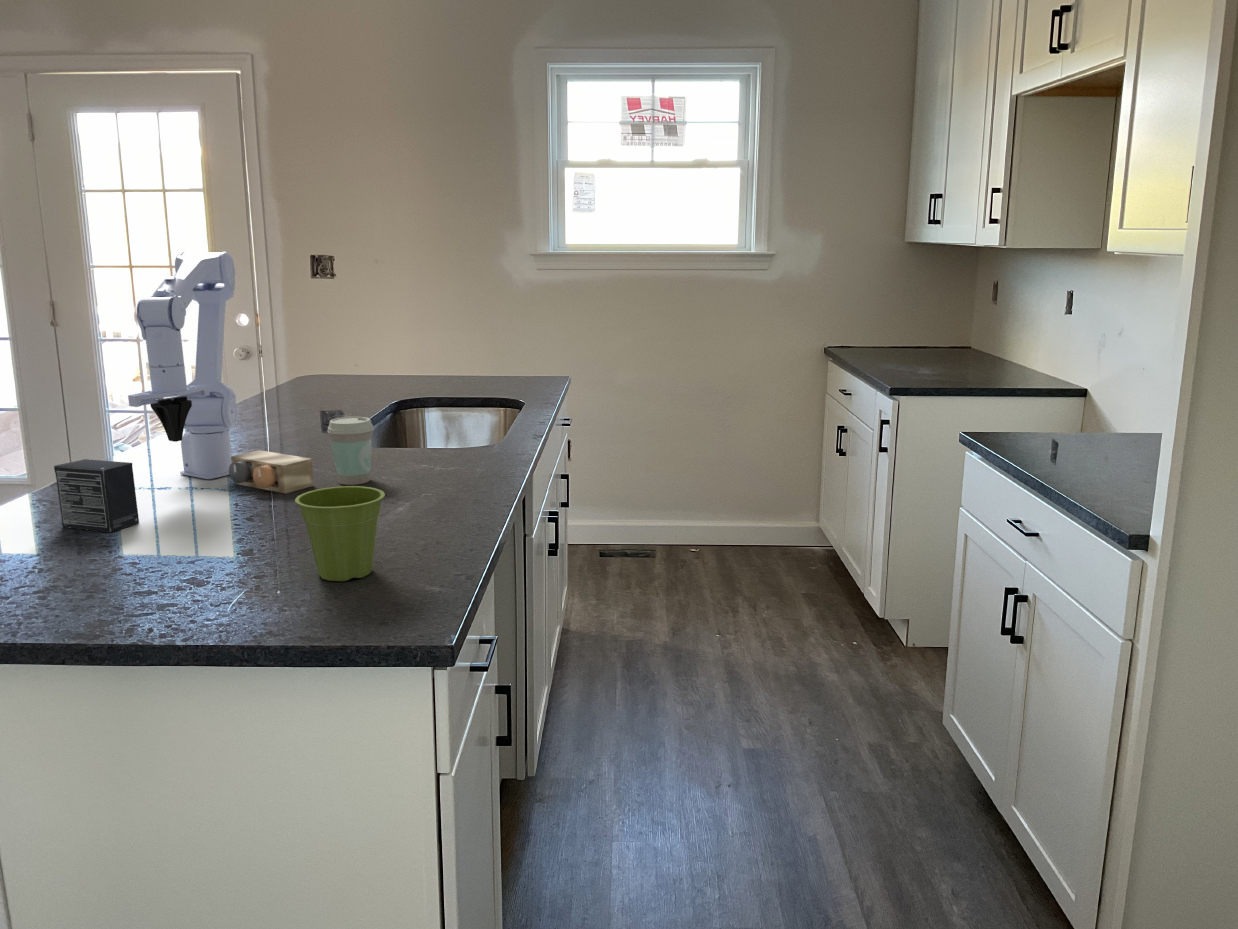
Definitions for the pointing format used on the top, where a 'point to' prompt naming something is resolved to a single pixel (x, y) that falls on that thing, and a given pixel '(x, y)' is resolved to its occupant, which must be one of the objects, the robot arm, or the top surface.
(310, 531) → the plant pot
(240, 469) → the charcoal knob
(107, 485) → the small box
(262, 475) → the orange knob
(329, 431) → the coffee cup
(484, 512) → the top surface
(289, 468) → the mount
